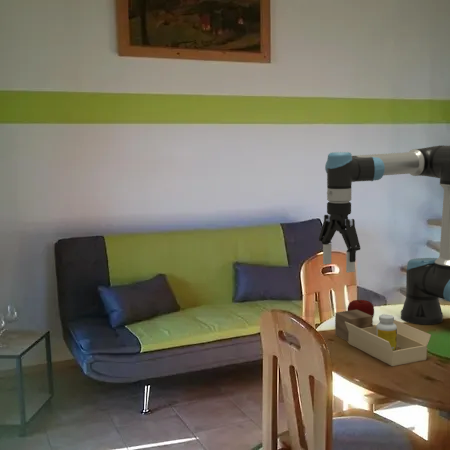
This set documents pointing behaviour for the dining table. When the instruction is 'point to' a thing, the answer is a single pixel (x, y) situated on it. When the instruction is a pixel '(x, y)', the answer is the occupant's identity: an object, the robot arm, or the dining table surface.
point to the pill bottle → (387, 330)
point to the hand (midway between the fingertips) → (338, 267)
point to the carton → (381, 349)
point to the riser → (351, 322)
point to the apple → (361, 306)
